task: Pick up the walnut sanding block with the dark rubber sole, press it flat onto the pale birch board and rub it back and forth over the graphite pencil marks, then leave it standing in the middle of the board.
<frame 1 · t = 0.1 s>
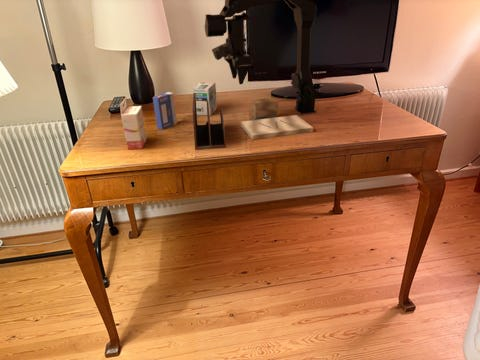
hand: (237, 81, 125), 14 cm above the table, tool pointing down, fingers open, 9 cm apart
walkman: (167, 126, 128), on the table
sanding block: (264, 118, 133), on the table
birch board: (276, 128, 123), on the table
ink cartridge box: (137, 144, 114), on the table
light bulb box: (206, 111, 142), on the table
letter holder: (210, 138, 118), on the table
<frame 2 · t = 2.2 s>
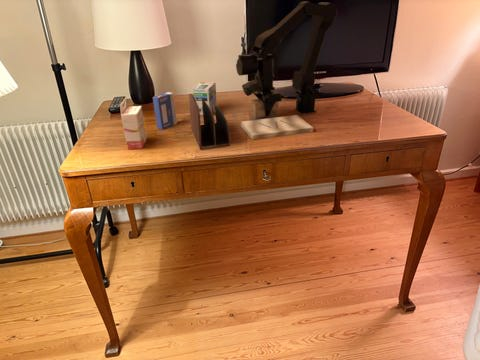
hand: (264, 114, 132), 2 cm above the table, tool pointing down, fingers closed on sanding block, 4 cm apart
sanding block: (264, 117, 133), on the table, touching gripper
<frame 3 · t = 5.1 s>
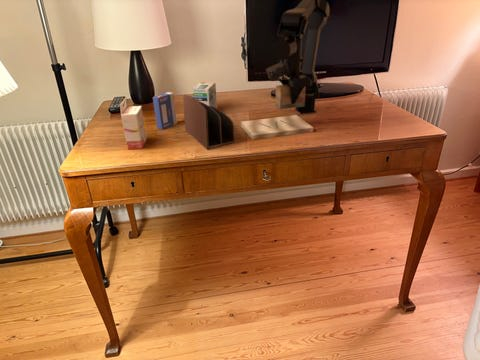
hand: (290, 101, 119), 9 cm above the table, tool pointing down, fingers closed on sanding block, 4 cm apart
sanding block: (289, 106, 120), point 8 cm above the table, touching gripper
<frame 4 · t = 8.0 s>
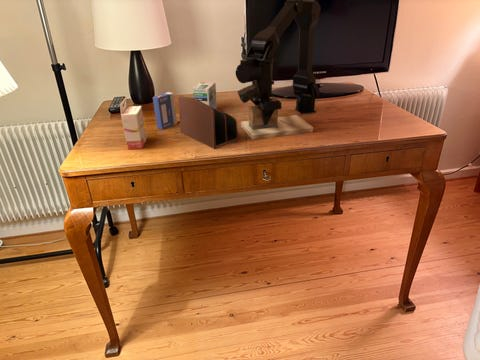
hand: (263, 122, 120), 3 cm above the table, tool pointing down, fingers closed on sanding block, 4 cm apart
sanding block: (263, 126, 121), point 2 cm above the table, touching gripper
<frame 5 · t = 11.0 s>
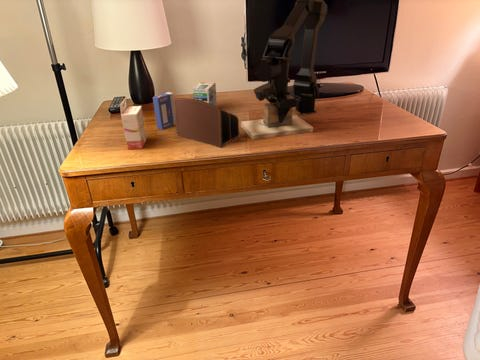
hand: (278, 120, 121), 3 cm above the table, tool pointing down, fingers closed on sanding block, 4 cm apart
sanding block: (277, 123, 122), point 2 cm above the table, touching gripper
when the fingers open (3 cm above the table, at t = 13.7 s): sanding block stays where it is, resting on birch board.
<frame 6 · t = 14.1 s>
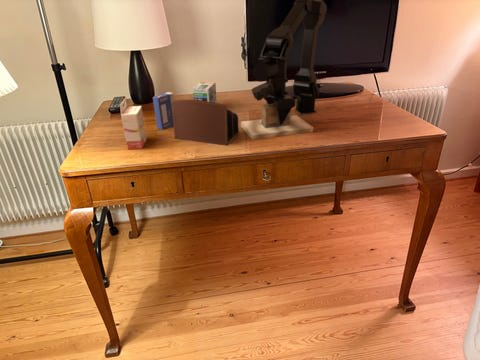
hand: (276, 120, 121), 3 cm above the table, tool pointing down, fingers open, 9 cm apart
sanding block: (275, 124, 122), point 2 cm above the table, touching birch board
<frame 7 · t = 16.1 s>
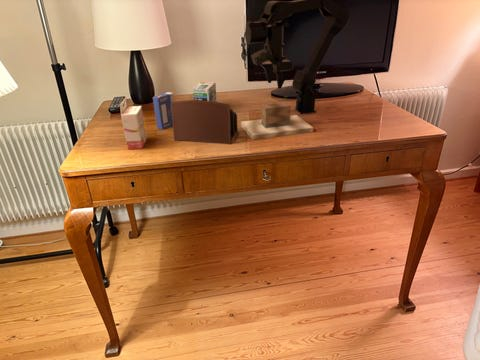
hand: (274, 85, 129), 12 cm above the table, tool pointing down, fingers open, 9 cm apart
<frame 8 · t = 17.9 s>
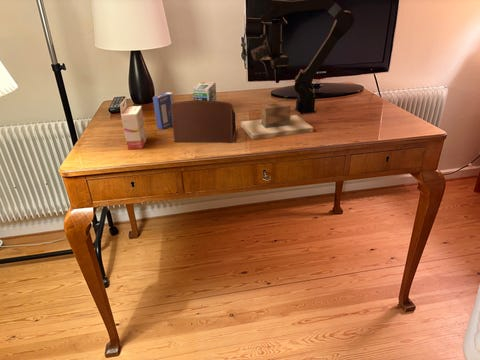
hand: (272, 80, 135), 12 cm above the table, tool pointing down, fingers open, 9 cm apart
at the end: sanding block inside the target area on the birch board (0.2 cm from its centre), point 1.5 cm above the birch board's base; sanding block tilted 0°; the gripper is holding nothing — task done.
